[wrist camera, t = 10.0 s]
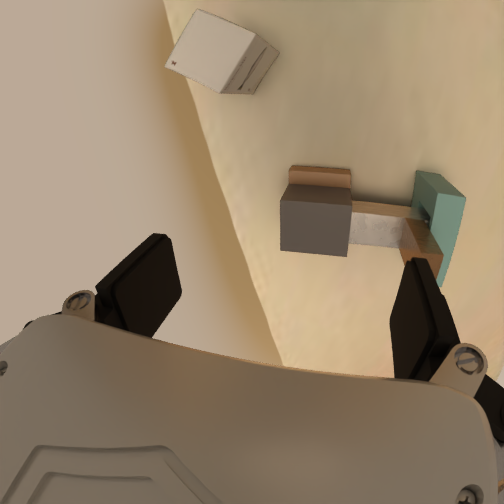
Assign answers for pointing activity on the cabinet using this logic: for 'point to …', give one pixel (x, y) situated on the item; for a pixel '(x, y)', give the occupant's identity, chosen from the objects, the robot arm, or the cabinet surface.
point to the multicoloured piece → (396, 231)
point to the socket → (440, 212)
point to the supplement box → (221, 55)
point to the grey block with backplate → (316, 211)
